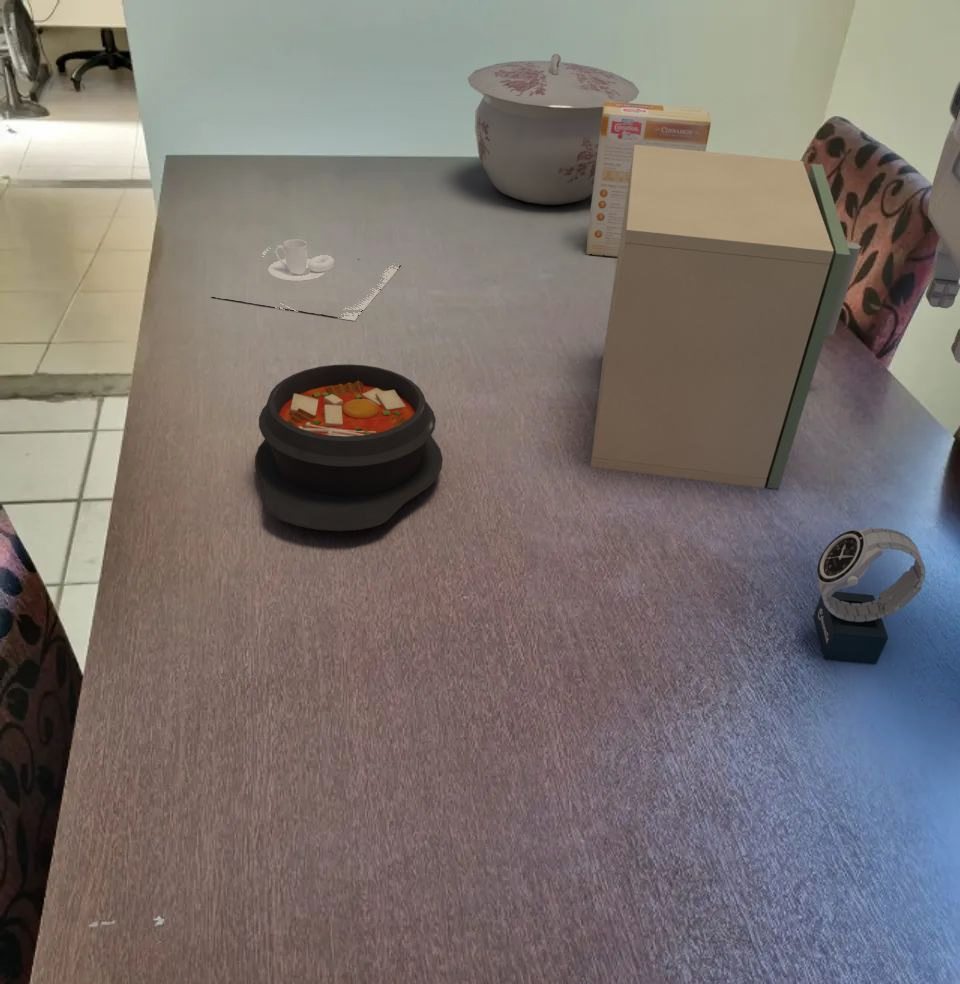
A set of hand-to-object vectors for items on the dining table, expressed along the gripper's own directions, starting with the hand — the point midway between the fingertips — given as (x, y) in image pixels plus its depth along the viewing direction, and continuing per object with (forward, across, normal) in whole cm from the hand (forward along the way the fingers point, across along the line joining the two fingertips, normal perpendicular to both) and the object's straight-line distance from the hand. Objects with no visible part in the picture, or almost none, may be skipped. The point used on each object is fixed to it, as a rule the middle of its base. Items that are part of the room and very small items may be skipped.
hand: (950, 330), depth 70 cm
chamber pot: (+26, +103, +38) cm, 113 cm away
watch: (+26, -6, 0) cm, 26 cm away
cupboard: (+26, +30, +15) cm, 42 cm away
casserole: (+26, +10, +48) cm, 55 cm away
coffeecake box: (+26, +80, +21) cm, 87 cm away
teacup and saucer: (+26, +56, +65) cm, 90 cm away
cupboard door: (+25, +30, +2) cm, 40 cm away
